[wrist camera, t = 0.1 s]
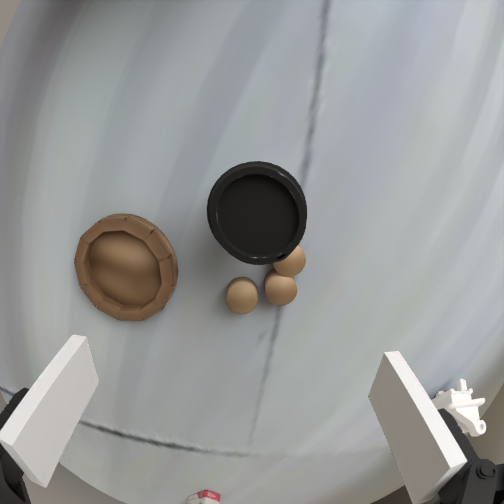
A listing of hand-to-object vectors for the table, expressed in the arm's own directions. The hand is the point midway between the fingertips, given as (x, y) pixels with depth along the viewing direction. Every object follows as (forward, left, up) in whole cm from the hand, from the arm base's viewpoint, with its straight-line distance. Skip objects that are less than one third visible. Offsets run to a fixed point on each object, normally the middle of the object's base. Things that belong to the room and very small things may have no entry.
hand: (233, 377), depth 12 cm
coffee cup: (-4, +2, -28) cm, 28 cm away
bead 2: (+4, +6, -28) cm, 29 cm away
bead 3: (+8, +5, -28) cm, 29 cm away
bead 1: (+9, 0, -28) cm, 29 cm away
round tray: (+5, -16, -28) cm, 33 cm away
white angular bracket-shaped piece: (+41, +39, -28) cm, 63 cm away
